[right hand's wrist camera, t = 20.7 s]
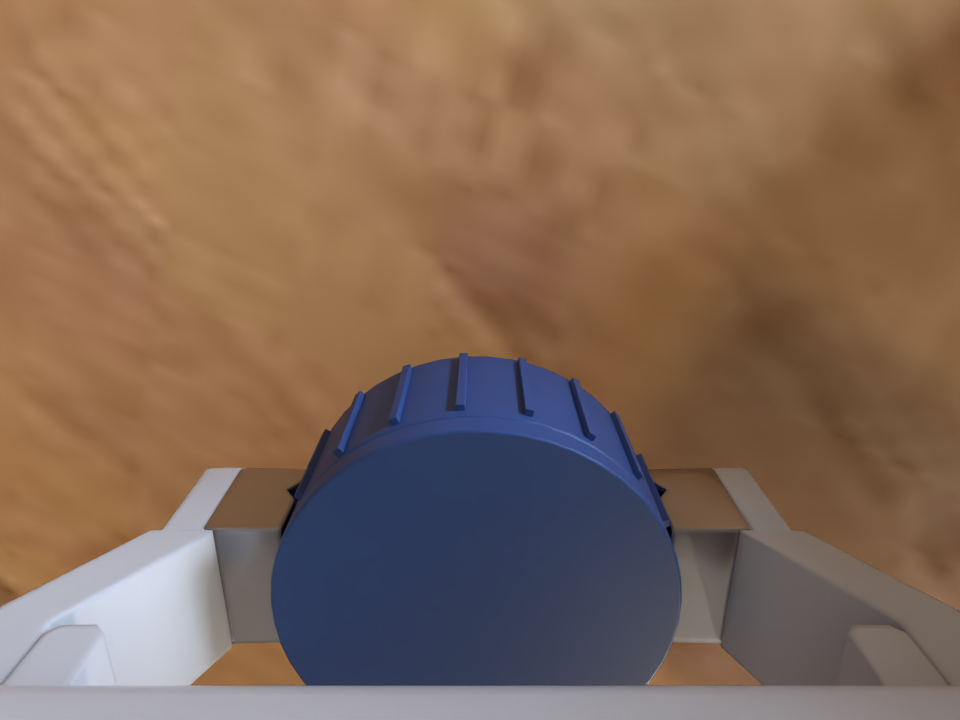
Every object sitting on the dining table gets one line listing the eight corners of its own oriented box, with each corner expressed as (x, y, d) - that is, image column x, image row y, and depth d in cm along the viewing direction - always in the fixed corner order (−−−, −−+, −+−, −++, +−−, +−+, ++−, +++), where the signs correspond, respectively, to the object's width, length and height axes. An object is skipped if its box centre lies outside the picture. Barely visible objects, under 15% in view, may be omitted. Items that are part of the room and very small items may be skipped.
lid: (457, 276, 9) (450, 334, 7) (716, 492, 10) (775, 596, 8) (242, 521, 10) (183, 629, 8) (492, 683, 11) (495, 813, 9)
